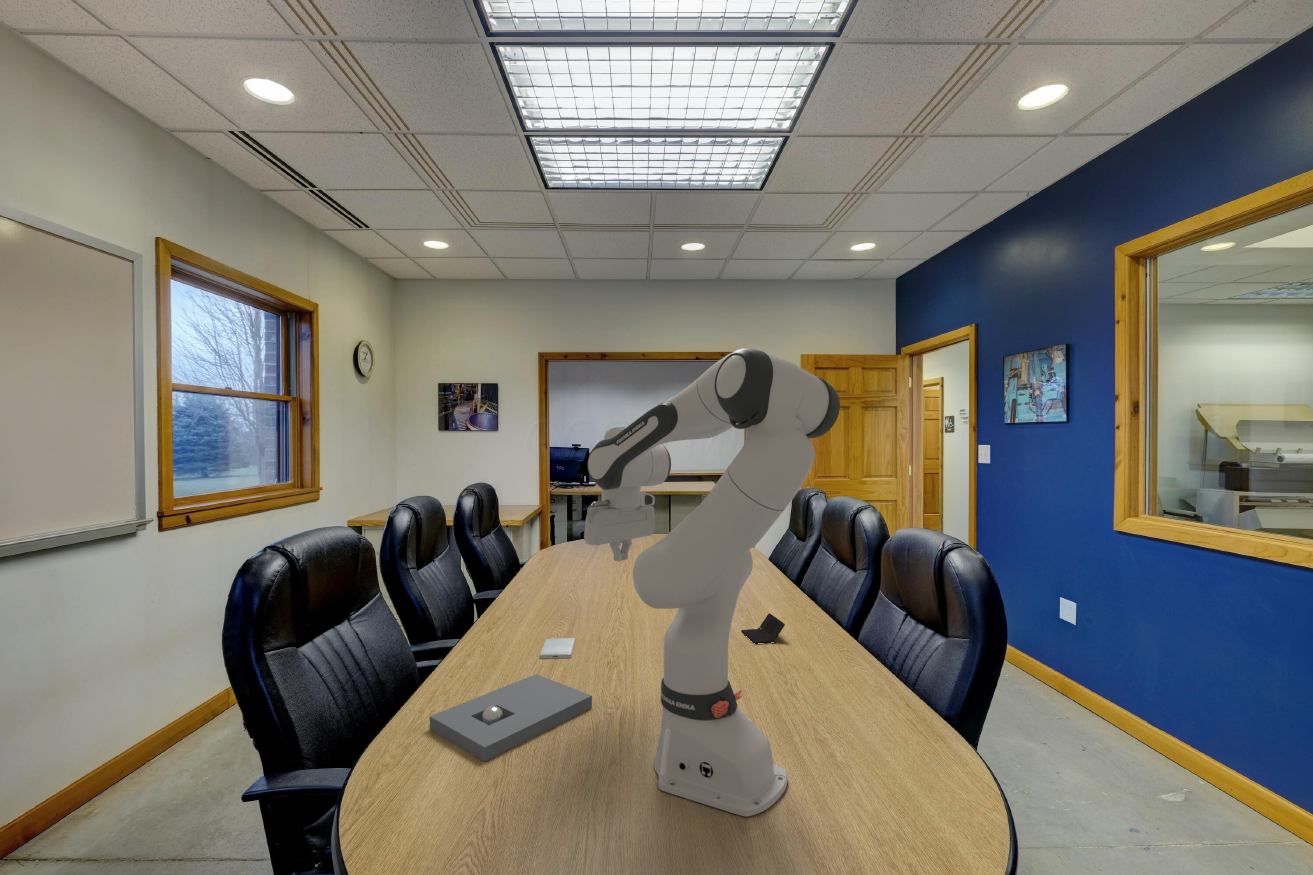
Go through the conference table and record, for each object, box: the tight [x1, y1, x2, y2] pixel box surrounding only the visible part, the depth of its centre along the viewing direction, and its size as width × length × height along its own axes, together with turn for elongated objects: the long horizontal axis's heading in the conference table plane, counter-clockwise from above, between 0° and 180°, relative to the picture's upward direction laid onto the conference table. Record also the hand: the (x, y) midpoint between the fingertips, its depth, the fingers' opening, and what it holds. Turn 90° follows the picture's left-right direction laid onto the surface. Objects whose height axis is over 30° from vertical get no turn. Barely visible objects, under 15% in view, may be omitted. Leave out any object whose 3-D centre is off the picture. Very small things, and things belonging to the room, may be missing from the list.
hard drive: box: [538, 637, 576, 660], centre depth 150 cm, size 2×8×12 cm
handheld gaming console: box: [740, 613, 786, 644], centre depth 160 cm, size 12×7×10 cm
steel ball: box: [482, 706, 503, 725], centre depth 108 cm, size 4×4×4 cm
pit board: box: [429, 673, 593, 763], centre depth 111 cm, size 18×26×2 cm
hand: (620, 560), depth 125 cm, fingers closed
